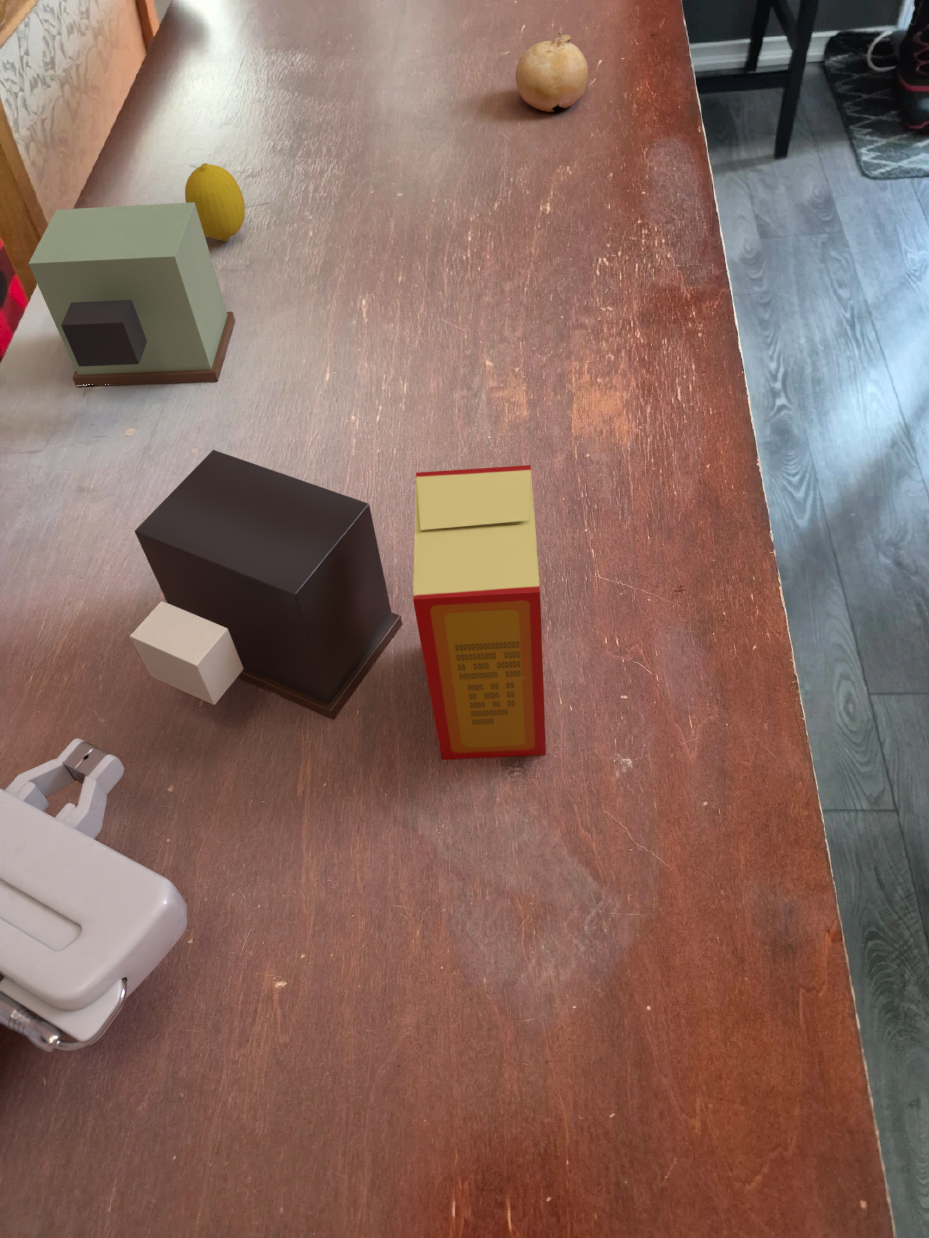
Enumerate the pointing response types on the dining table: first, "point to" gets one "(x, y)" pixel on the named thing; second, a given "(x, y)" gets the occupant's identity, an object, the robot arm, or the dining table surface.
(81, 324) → the dark brown block
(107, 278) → the green key block
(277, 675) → the black key block
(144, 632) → the white rectangular block
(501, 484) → the baking soda box
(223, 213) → the lemon
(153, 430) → the dining table surface
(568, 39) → the onion
